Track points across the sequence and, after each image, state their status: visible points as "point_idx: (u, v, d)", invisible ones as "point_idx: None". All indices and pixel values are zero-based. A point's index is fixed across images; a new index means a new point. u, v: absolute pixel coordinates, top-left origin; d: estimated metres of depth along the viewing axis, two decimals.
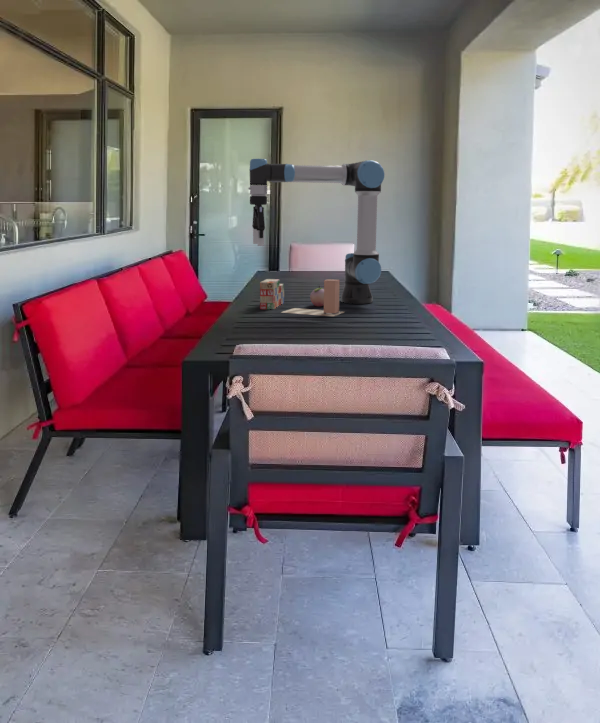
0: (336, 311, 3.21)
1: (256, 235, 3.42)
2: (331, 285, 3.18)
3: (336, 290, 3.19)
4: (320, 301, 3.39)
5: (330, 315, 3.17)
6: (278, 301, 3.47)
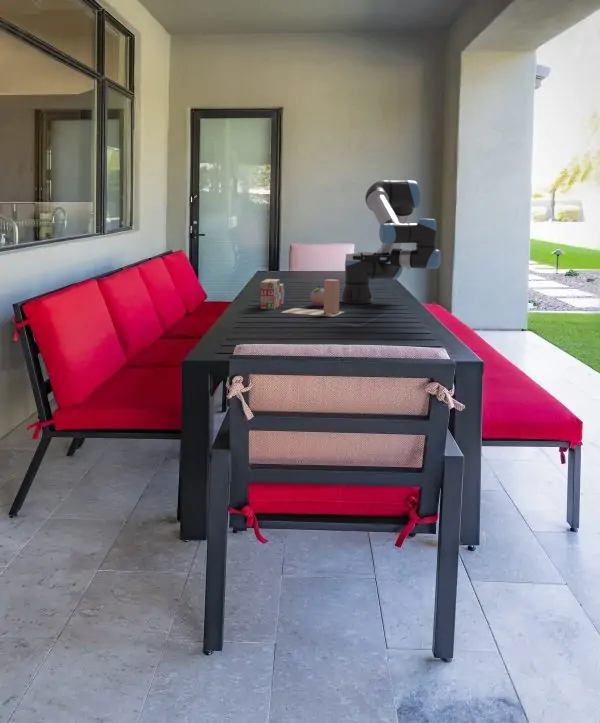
0: (336, 311, 3.21)
1: None
2: (331, 285, 3.18)
3: (336, 290, 3.19)
4: (320, 301, 3.39)
5: (330, 315, 3.17)
6: (278, 301, 3.48)
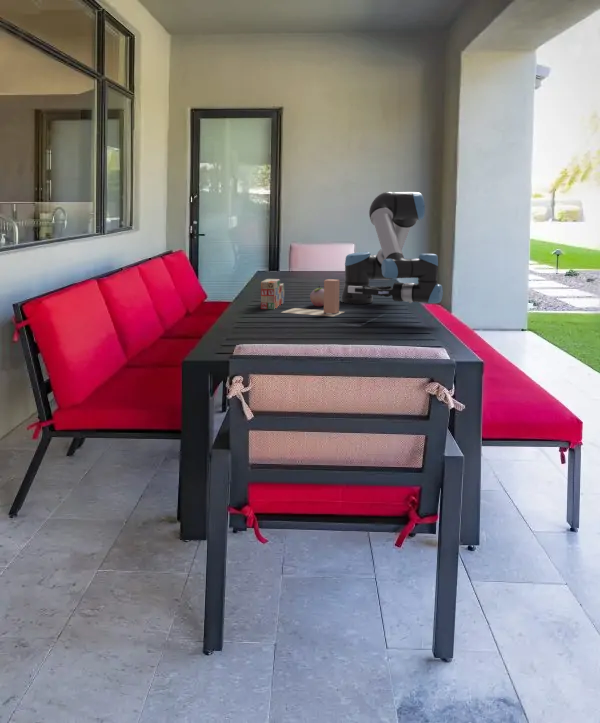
0: (336, 311, 3.21)
1: None
2: (331, 285, 3.18)
3: (336, 290, 3.19)
4: (320, 301, 3.39)
5: (330, 315, 3.17)
6: (278, 301, 3.48)
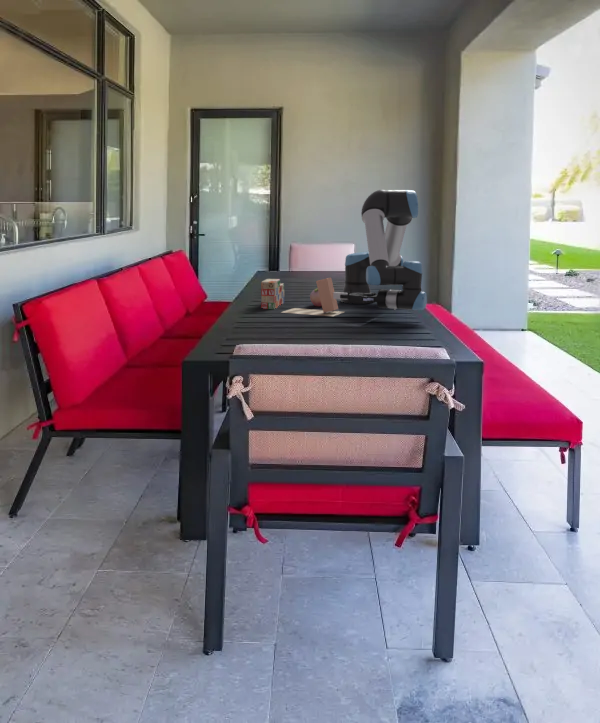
0: (335, 308, 3.21)
1: None
2: (324, 283, 3.19)
3: (330, 287, 3.20)
4: (320, 301, 3.39)
5: (330, 315, 3.17)
6: (279, 301, 3.48)
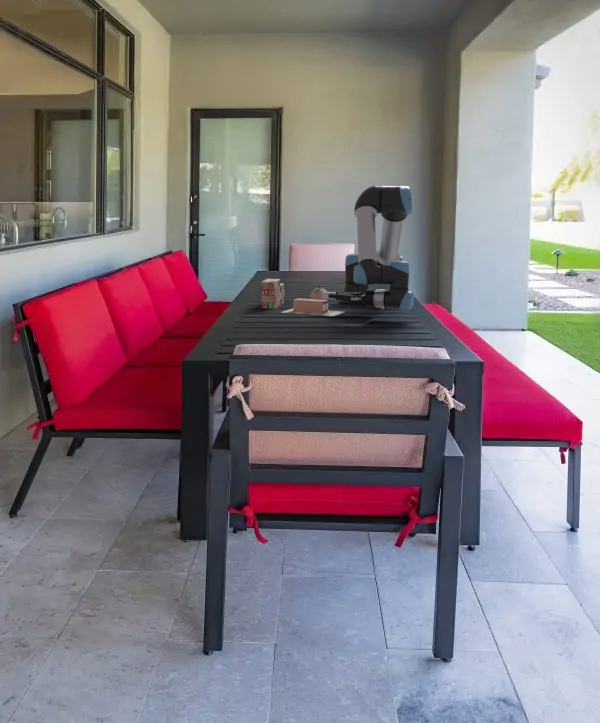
0: (323, 301, 3.23)
1: None
2: (297, 304, 3.26)
3: (303, 299, 3.26)
4: None
5: (330, 315, 3.17)
6: (279, 301, 3.49)
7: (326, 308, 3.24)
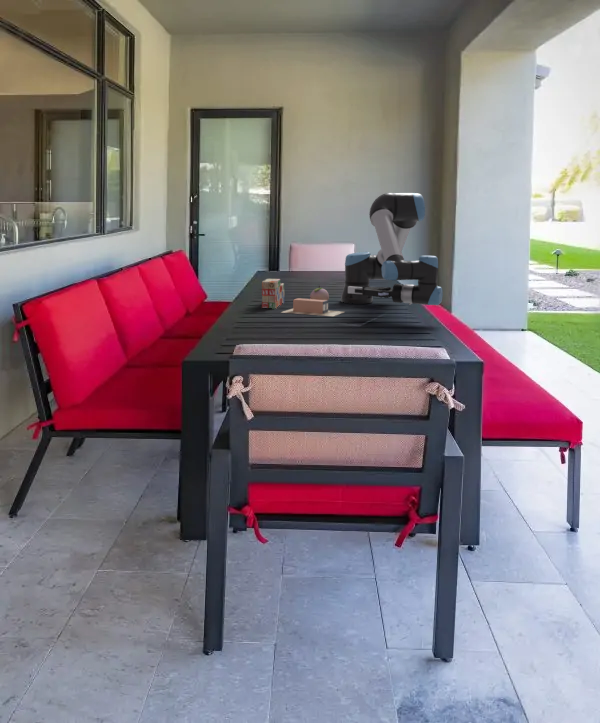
0: (323, 301, 3.23)
1: None
2: (297, 304, 3.26)
3: (303, 299, 3.26)
4: None
5: (330, 315, 3.17)
6: (279, 300, 3.49)
7: (326, 308, 3.24)
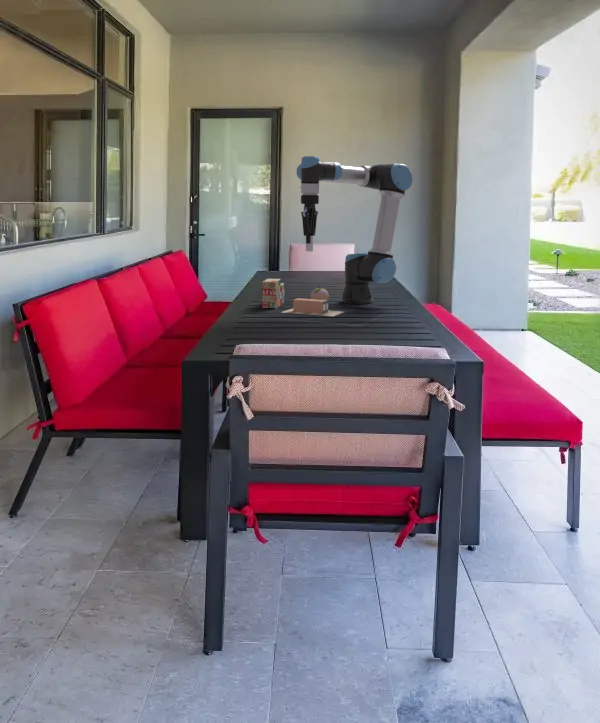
0: (323, 301, 3.23)
1: None
2: (297, 304, 3.26)
3: (303, 299, 3.26)
4: None
5: (330, 315, 3.17)
6: (279, 300, 3.50)
7: (326, 308, 3.24)
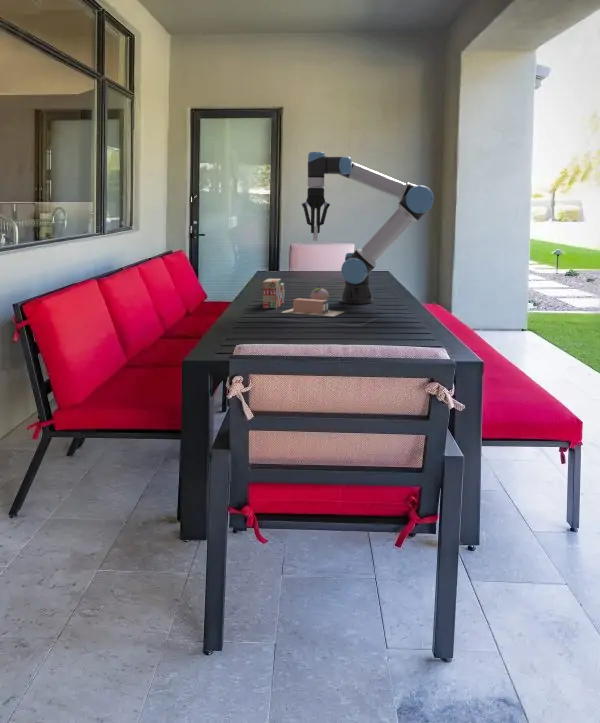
0: (323, 301, 3.23)
1: None
2: (297, 304, 3.26)
3: (303, 299, 3.26)
4: None
5: (330, 315, 3.17)
6: (280, 300, 3.50)
7: (326, 308, 3.24)
